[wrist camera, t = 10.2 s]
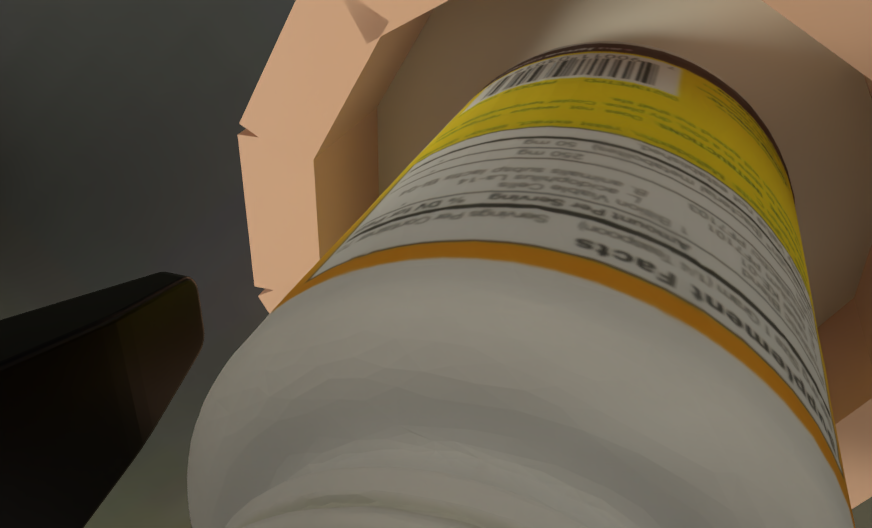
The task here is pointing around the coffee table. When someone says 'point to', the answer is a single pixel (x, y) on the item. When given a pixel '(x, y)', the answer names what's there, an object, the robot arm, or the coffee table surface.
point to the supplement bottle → (546, 328)
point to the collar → (529, 36)
